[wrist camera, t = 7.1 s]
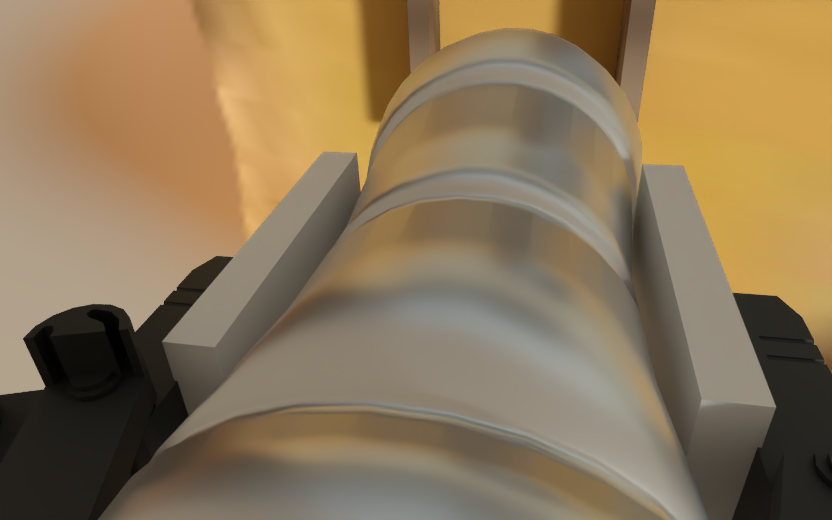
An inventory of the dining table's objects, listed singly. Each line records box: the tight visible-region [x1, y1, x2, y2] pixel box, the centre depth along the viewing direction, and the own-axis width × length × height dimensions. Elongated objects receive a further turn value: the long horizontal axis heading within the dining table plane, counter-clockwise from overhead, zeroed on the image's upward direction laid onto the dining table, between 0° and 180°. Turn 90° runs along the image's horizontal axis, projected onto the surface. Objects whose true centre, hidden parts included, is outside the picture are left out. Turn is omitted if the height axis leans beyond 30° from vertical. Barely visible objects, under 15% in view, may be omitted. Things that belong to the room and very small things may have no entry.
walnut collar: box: [407, 0, 656, 123], centre depth 30 cm, size 12×11×3 cm
